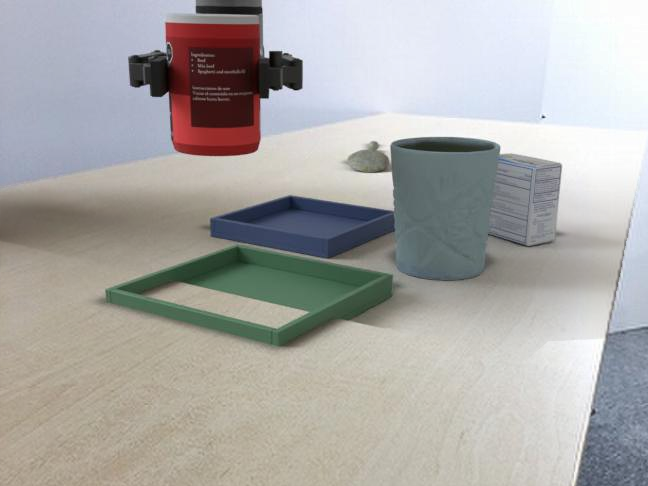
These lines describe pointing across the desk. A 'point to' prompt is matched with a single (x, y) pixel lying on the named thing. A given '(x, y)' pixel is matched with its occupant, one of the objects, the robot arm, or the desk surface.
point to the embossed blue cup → (443, 204)
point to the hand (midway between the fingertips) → (210, 80)
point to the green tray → (262, 290)
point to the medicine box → (525, 199)
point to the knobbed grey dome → (368, 159)
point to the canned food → (214, 83)
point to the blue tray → (304, 225)
